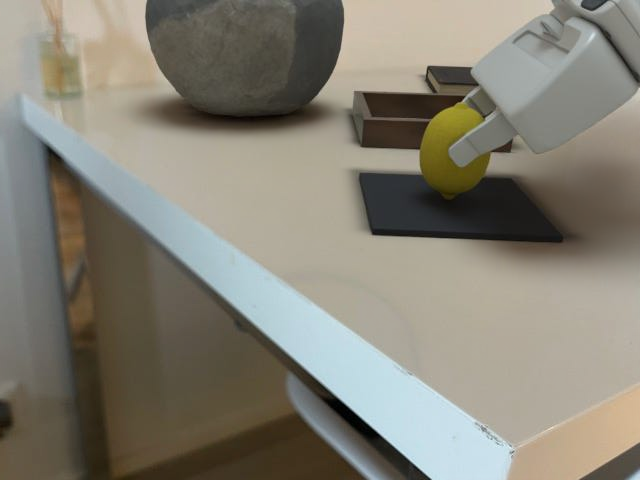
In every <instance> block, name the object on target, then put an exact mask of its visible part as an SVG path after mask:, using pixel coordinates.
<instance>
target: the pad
mask: <svg viewBox="0 0 640 480" xmlns="http://www.w3.org/2000/svg"><path fill="white" fill-rule="evenodd" d="M358 179H359V182H360V187H361V192H362V196H363V201H364V204H365V208H366V213H367V216H368V221H369V222H368V223H369V226H370V231H371V234H372V235H383V236H406V237H432V238H453V239H454V238H457V239H476V240H477V239H480V240H500V241H501V240H502V241H523V242H524V241H525V242H526V241H527V242H547V243H548V242H549V243H551V242H552V243H562V242H563V240H564V235H563V234H562V233H561V232H560V231H559V229H558V228H557V227H556V226H555V225H554V223H552V222H551V221H550V220H549V218H548V217H547V216H546V215H545V214H544V213H543V212H542V210H541V209H540V208H539V207H538V206H537V205H536V204H535V202H533V201H532V199H531V198H530V197H529V196H528V195H527V194H526V192H525V191H524V190H523V189H522V188H521V187H520V186H519V184H517V182H515V180H514V179H513V178H511V177H492V176H491V177H489V176H483V177H482V179H481V180H480V182H479V183H478V184H477V185H476V186H474V187H473V188H471V189H470V190H468V191H466V192H463V193H459V194H458V195H456V196H455V197H454V198H453V199H445V198H444V197H443V196H442V194H441V193H440V192H439V191H437V190H435V189H433V188H432V187H431V186H430V185H429V184H428V183H427V182H426V180H425V178H424V177H423V175H422V174H408V173H386V172H385V173H382V172H381V173H380V172H359V175H358Z"/></svg>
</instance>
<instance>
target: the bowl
mask: <svg viewBox="0 0 640 480" xmlns="http://www.w3.org/2000/svg"><path fill="white" fill-rule="evenodd" d="M144 19H145V21H144V22H145V30H146V34H147V40H148V43H149V46H150V47H149V48H150V51H151V53H152V55H153V58H154V60H155V63H156V64H157V66H158V69H159V70H160V72H161V74H162V75H163V77H164V78H165V79H166V80H167V81H168V82H169V83H170V85H171V86H172V87H173V88H174V90H175V91H176V93H177V94H179V96H180V97H181V98H183V100H184V101H186V102H187V104H189V105H191V106H192V107H194V108H195V109H196V110H199V111H201V112H205V114H210V115H214V116H217V115H222V116H231V117H235V118H238V117H258V116H259V117H260V116H285V115H289V114H291V113H293V112H295V111H297V110H299V109H301V108H303V107H306V105H308V104H310V103H311V102H312V101H313V100H314V99H315V98H316V97H317V96H318V95H319V93H321V91H322V90H323V88H324V87H325V86H326V84H327V83H328V81H329V80H330V79H331V76H332V75H333V73H334V71H335V69H336V66H337V63H338V59H339V57H340V52H341V49H342V42H343V36H344V35H343V34H344V28H345V27H344V25H345V7H344V3H343V0H146V3H145V13H144Z"/></svg>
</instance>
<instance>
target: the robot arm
mask: <svg viewBox="0 0 640 480" xmlns="http://www.w3.org/2000/svg"><path fill="white" fill-rule="evenodd" d="M550 1H551V3H552V5H553V7H554V8H553V9H552V10H551V11H549V12H548V13H544V14H540V15H538V16H536V17H534V18H533V19H532V20H529V21H528V22H527V23H525V24H524V25H523V26H522V27H519V28H518V29H517V30H516V31H515V32H513V33H512V34H510V35H509V36H508V37H507V38H505V39H504V40H503V41H502V42H500V43H498V45H496V46H495V47H494V48H492V49H491V50H490V51H488V52H487V53H486V54H484V56H482V57H481V58H480V59H479V60H478V61H477V62H476V63H475V64H474V66H472V67H473V68H472V69H471V72H470V73H471V75H472V77H473V78H474V79H475V81H476V82H477V83H478V84H479V86H478V87H476V88H475V89H474V90H473V91H471V92H470V93H469V94H468V95H467V96H466V97H465V98H464V100H463V101H462V102H463V103H466V104H467V105H468V107H469V108H471V109H473V110H475V111H477V112H478V113H479V114H480V115H481V116H483V115H484V116H486V115H487V114H489V113H490V112H491V111H492V110H494V109H495V108H497V109H496V110H495V111H494V112H492V113H491V114H490V115H489V116H487V117H486V118H485V120H486V121H484V122H483V123H481V124H480V125H478V126H477V127H475V128H474V129H472V130H471V131H469V132H468V133H466V134H465V133H464V132H463V133H462V134H461V135H460V136H458V137H457V138H456V139H455V140H454V141H452V142H451V143H449V144H448V146H447V151H448V154H449V156H450V157H451V159H452V160H453V161H454V162H455V163H456V165H457V166H459V167H464V166H466V165H468V164H469V163H470V162H472V161H473V160H474V159H476V158H477V157H478V156H480V155H482V154H484V153H487V152H489V151H491V150H494V149H496V148H498V147H501V146H503V145H505V144H506V143H508V142H509V141H510V140H512V139H513V140H514V138H516V137H517V136H519V137H520V138H521V139H522V141H523V142H524V143H525V144H526V146H527V147H528V148H529V149H530V150H531V152H532V153H534V154H535V155H539V154H544V153H546V152H550V151H552V150H554V149H557V148H559V147H561V146H563V145H565V144H567V143H568V142H570V141H571V140H573V139H575V138H576V137H578V136H579V135H581V134H582V133H584V132H586V131H587V130H589V129H591V128H592V127H593V126H595V125H596V124H598V123H599V122H601V121H602V120H604V119H605V118H606V117H608V116H610V115H611V114H613V113H614V112H615V111H618V109H619V108H621V107H623V106H624V105H625V104H626V103H627V102H629V101H630V100H632V98H633V97H634V96H636V94H637V93H638V90H639V89H640V0H550ZM491 152H492V151H491Z"/></svg>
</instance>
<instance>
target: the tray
mask: <svg viewBox="0 0 640 480" xmlns="http://www.w3.org/2000/svg"><path fill="white" fill-rule="evenodd" d="M467 95H468V94H441V93H434V92H405V91H375V90H373V91H372V90H354V91H353V98H352V112H351V114H352V119H353V122H354V125H355V129H356V133H357V136H358V141H359V143H360V147H362V148H385V149H386V148H387V149H413V150H414V149H416V150H417V149H418V150H420V147H421V143H422V139H423V136H424V133H425V130H426V128H427V126H428V124H429V123H430V121H431V120H432V119H433V118H434V117H435V116H436V115H437V114H439V113H440V112H442V111H443V110H445V109H448V108H450V107H454V106H455V105H456V104H457V103H459V102H462V101H463V100H464V98H465V97H466V96H467ZM496 109H497V107H496V108H495V109H494V110H492V111H491V112H490V113H489V114H487V115H486V116H484V115H483V116H482V117H483V118H484V119H485V118H486V117H487V116H489V115H490V114H491V113H492V112H494V111H495V110H496ZM485 121H486V120H485ZM513 142H514V138H513V139H512V140H510V141H509V142H508V143H506V144H505V145H503V146H501V147H498V148H496V149H494V150H491V152H497V153H498V152H502V153H511V152H512V147H513V144H514V143H513Z"/></svg>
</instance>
